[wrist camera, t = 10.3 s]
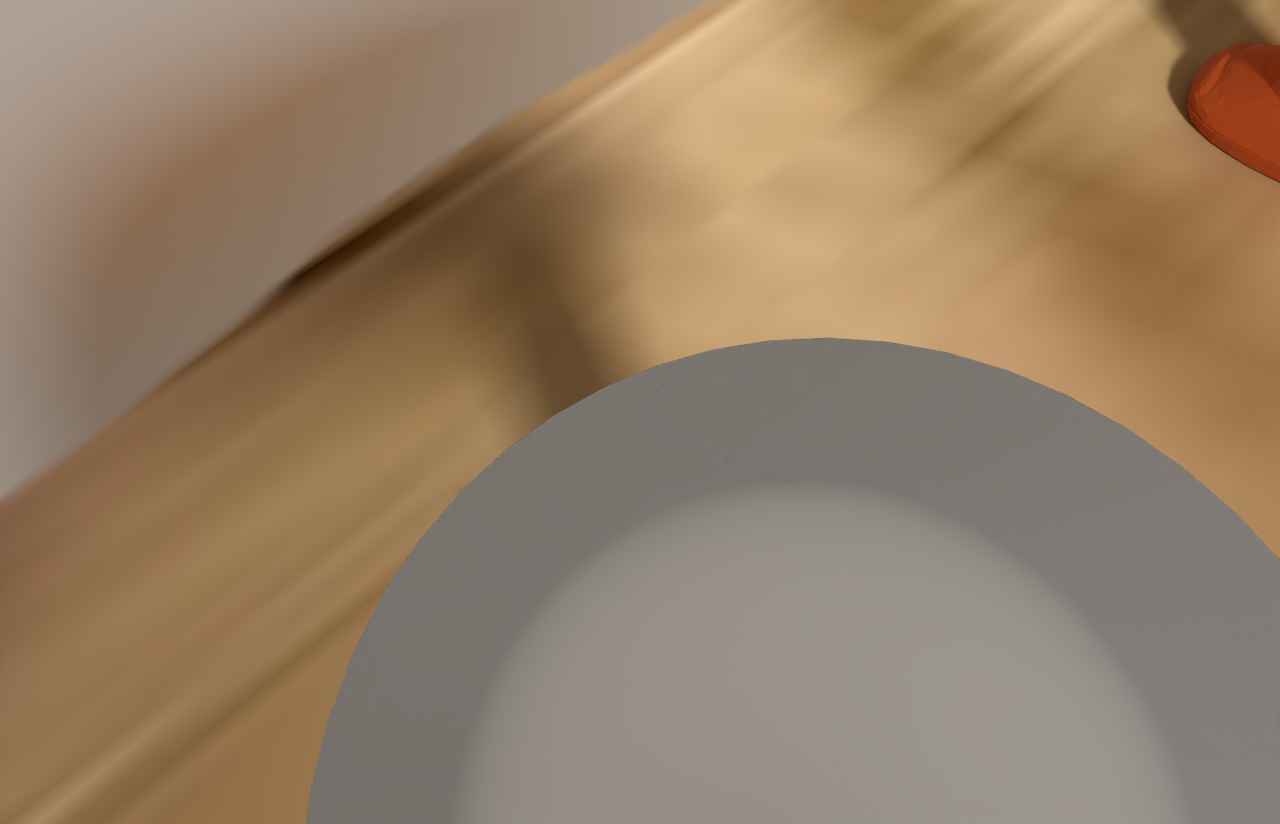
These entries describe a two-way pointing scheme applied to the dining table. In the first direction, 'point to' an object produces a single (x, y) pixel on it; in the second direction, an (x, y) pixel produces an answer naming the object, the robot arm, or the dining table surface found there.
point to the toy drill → (1241, 104)
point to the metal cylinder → (819, 615)
